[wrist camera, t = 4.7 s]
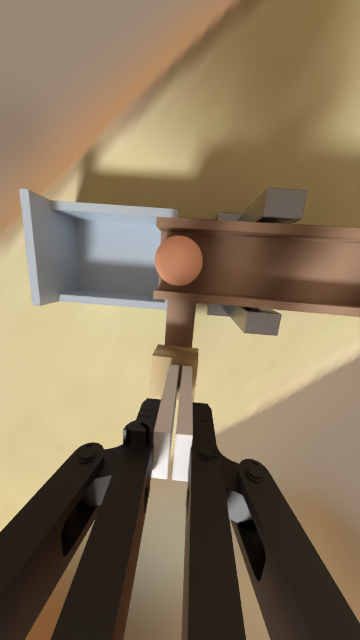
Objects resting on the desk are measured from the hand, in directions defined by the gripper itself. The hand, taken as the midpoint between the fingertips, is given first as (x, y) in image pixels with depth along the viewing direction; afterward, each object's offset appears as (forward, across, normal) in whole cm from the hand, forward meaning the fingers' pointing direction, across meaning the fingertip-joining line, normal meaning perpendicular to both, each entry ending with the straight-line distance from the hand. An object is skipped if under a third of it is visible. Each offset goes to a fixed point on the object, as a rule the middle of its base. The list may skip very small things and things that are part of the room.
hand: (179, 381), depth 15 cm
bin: (+10, -8, +9) cm, 15 cm away
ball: (+1, +1, +9) cm, 9 cm away
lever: (+3, +7, +5) cm, 9 cm away
